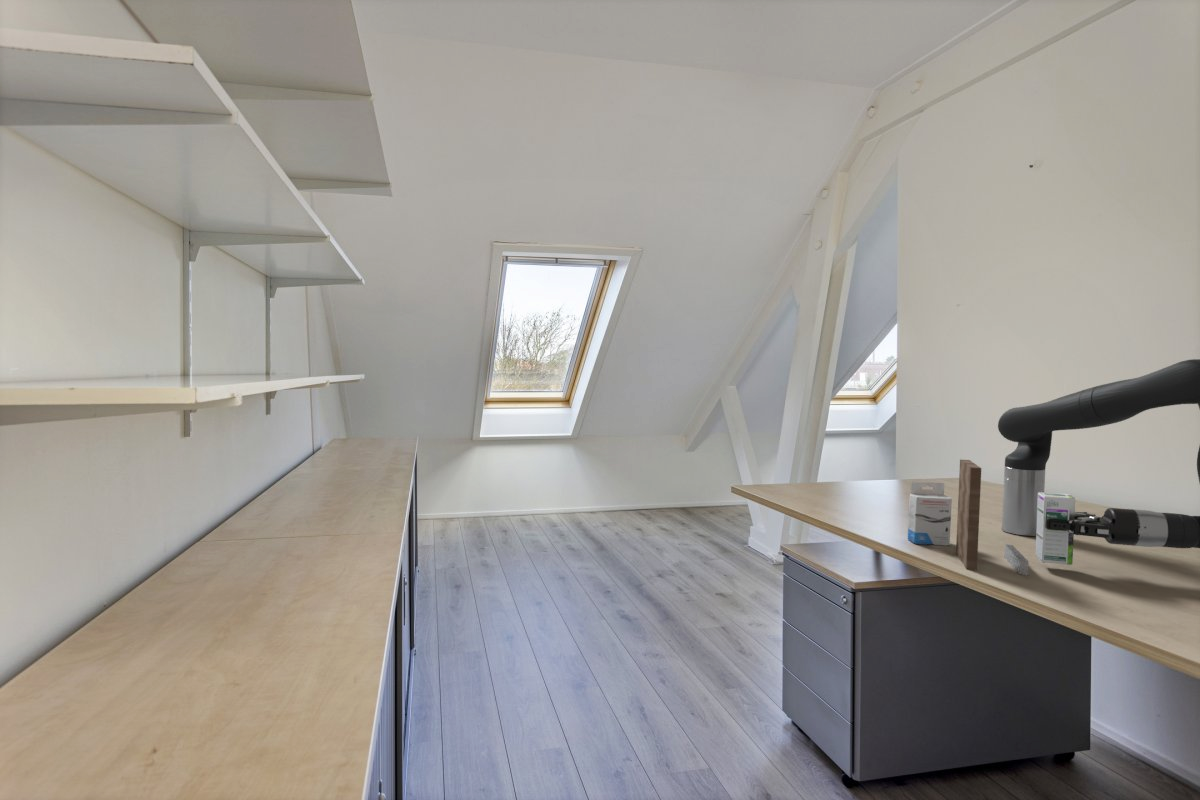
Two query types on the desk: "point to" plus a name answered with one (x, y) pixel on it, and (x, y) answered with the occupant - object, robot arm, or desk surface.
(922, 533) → the ink box
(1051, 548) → the syrup box
